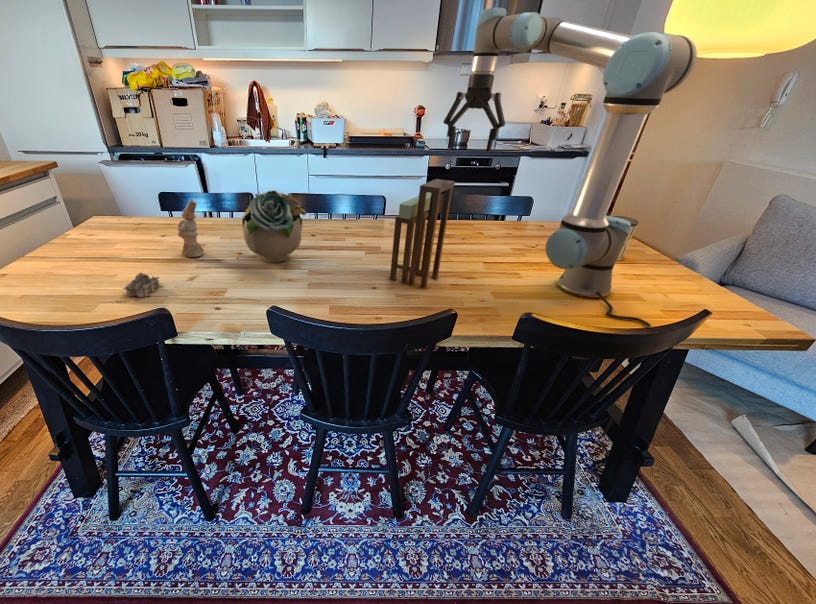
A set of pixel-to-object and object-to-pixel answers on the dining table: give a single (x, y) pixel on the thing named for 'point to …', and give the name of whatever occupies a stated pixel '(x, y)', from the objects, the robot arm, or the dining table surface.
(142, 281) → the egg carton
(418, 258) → the step rack
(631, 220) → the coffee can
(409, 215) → the sage box
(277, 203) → the flower arrangement
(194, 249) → the figurine
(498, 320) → the dining table surface
